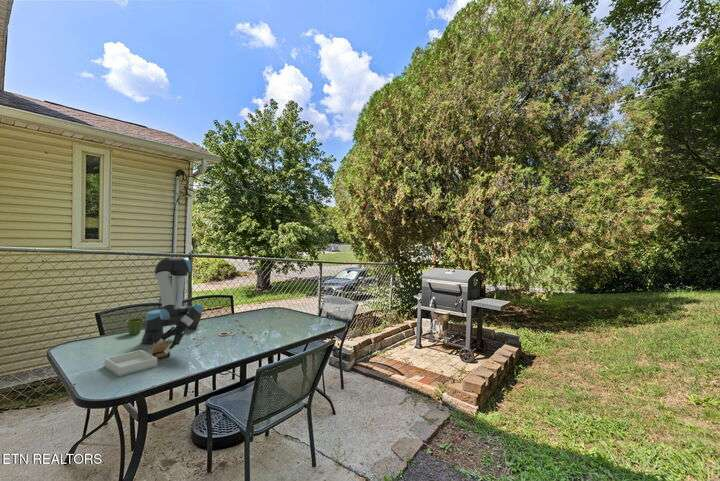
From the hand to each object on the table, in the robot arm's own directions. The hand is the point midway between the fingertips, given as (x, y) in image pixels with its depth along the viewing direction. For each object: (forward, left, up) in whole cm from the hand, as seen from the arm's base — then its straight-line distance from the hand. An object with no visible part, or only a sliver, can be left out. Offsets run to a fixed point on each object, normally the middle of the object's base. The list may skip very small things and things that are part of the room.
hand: (160, 350), depth 208 cm
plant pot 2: (-53, +50, -6) cm, 73 cm away
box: (-1, -16, -6) cm, 17 cm away
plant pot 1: (-69, +12, -6) cm, 70 cm away
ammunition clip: (-1, +1, -6) cm, 6 cm away
